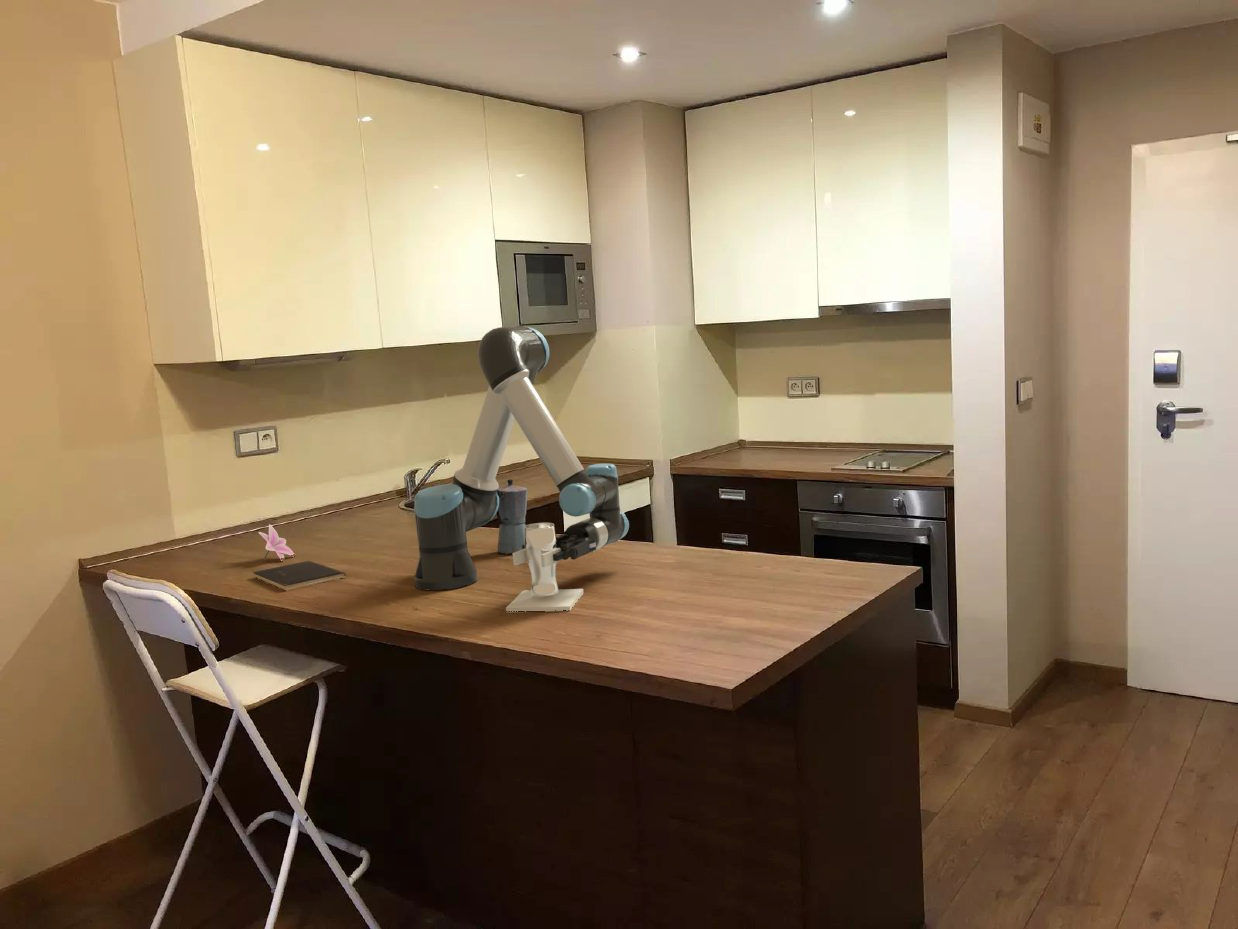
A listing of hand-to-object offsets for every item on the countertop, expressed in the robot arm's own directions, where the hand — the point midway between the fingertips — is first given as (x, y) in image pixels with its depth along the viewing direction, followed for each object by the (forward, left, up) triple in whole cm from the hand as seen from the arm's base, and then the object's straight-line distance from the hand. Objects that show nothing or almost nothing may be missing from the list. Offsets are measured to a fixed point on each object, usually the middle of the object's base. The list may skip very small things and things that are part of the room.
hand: (528, 560), depth 210 cm
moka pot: (-20, +57, -11) cm, 61 cm away
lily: (-91, +57, -11) cm, 108 cm away
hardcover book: (-72, +35, -11) cm, 81 cm away
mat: (+2, +5, -11) cm, 12 cm away
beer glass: (+2, +5, -9) cm, 10 cm away
